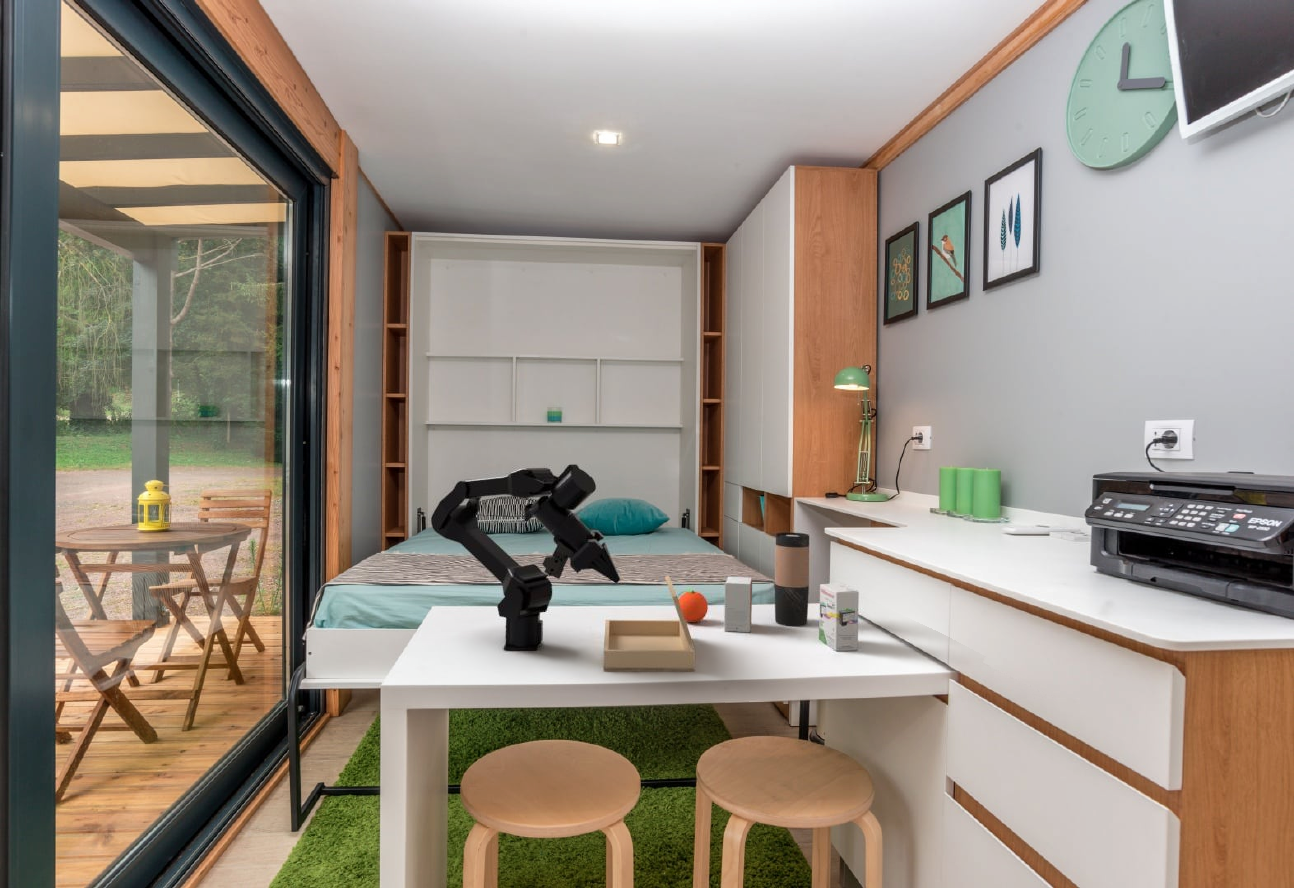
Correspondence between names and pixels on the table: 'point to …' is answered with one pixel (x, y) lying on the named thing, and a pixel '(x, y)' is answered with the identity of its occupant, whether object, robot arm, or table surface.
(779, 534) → the travel mug
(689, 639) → the carton flap
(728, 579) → the small box
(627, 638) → the carton
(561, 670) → the table surface
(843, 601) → the ink box
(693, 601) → the clementine
